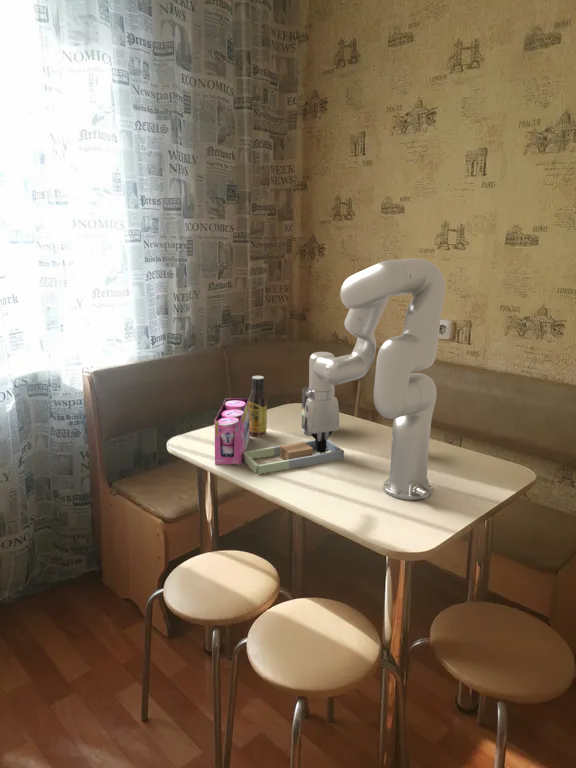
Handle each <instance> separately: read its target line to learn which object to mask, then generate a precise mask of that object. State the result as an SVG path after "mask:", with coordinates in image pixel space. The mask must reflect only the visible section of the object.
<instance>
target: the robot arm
mask: <svg viewBox="0 0 576 768" xmlns="http://www.w3.org/2000/svg"><path fill="white" fill-rule="evenodd" d="M339 293H340V300H341V302H342V304H343V306H345V307H346V308H348V309H349V310H348V311H347V312H348V313H347V315H346V317H345V319H344V322H343V323H344V328H345V330H346V331H347V332H349V333H350V334H351V335H352V336H354V337H356V338H357V339H356V342H355V345H354V347H353V350H352V352H351V354H345V355H341V356H337V357H335V355H334V354H333V353H332V352H328V351H317V352H316V351H315V352H313V353H312V354H311V355H310V357H309V360H308V361H309V365H308V366H309V369H308V370H309V373H308V377H309V378H308V381H309V383H308V387H309V391H308V392H305V396H306V397H307V396H308V397H309V398H307V402H306V406H305V414H304V428H305V432H303V434H304V435H305V436H306V437H312V438H314V440H315V449H316V450H317V451H318V454H323V453H326V451H325V449H326V440H329V437H330V436H331V435H332V434H333V433H334V434H335V433H337V431H338V430H339V428H340V409H339V401H338V397H336V396H335V389H336V388H335V386H338V385H342V384H344V383H345V384H346V383H349V382H352V381H356V380H361V378H363V377H365V375H366V374H367V373H368V372H369V370H370V367H371V366H372V364H373V361H374V359H375V356H376V354H377V357H376V365H375V375H374V385H373V403H374V407H375V409H376V411H377V412H378V414H379V415H381V416H382V417H383V418H385V419H389V420H393V422H392V432H391V450H390V469H389V478H387V479H385V480H384V482H383V490H384V492H386V493H387V494H388V495H389V496H391V497H394V498H396V499H400V500H405V501H418V500H422V499H427V498H429V496H431V495H432V494H433V493H434V489H433V487H432V485H431V483H430V482H429V478H428V465H429V454H430V453H429V451H430V438H431V430H432V429H431V426H432V418H433V413H434V410H435V409H434V408H435V405H436V401H437V386H436V384H435V382H434V380H433V379H432V378H431V377H430V376H428V375H427V374H425V373H420V371H423V370H426V369H428V368H431V366H432V365H433V364H434V363H435V361H436V357H437V352H438V345H439V344H438V343H439V336H440V329H441V319H442V312H443V306H444V303H445V296H446V281H445V277H444V275H443V273H442V272H441V270H440V269H439V267H438V266H437V265H435V263H433V262H432V261H429V260H427V259H424V258H420V257H419V258H416V257H410V258H409V257H408V258H400V259H399V258H398V259H389V260H384V261H380V262H378V263H376V264H374V265H372V266H368V267H367V268H365V269H362V270H360V271H358V272H356V273H354V274H351V275H350V276H348V278H347V277H346V279H345V280H344V281H343V283H342V285H341V288H340V292H339ZM406 295H411V296H412V298H411V300H410V302H409V304H408V305H407V308H406V311H405V315H404V322H403V323H404V325H403V330H402V333H401V334H400V335H395V336H392V337H389V338H387V339H386V340H385V341H384V342H383V343H382V344H381V346H380V347H379V350H378V353H377V342H376V337H375V332H376V329H377V327H378V324H379V322H380V321H381V317H382V316H383V314H384V311H385V309H386V307H387V304H388V302H389V300H390V298H391V297H398V296H406Z"/></svg>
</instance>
